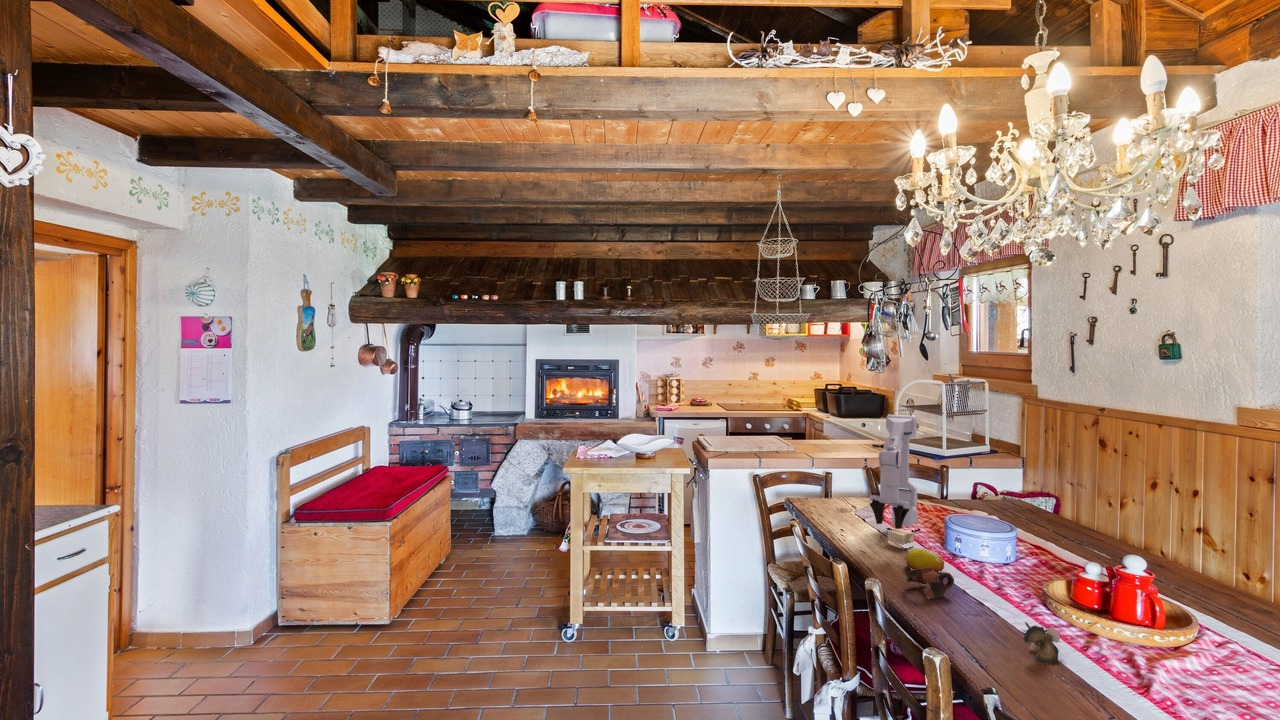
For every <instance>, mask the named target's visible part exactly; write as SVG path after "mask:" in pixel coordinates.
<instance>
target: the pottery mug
mask: <svg viewBox="0 0 1280 720" xmlns="http://www.w3.org/2000/svg"><path fill="white" fill-rule="evenodd" d="M906 576H907V577H906V582H907V583H908V584H909V583H910V582H914V583H918V584H919V583H922V584H928V585H929V587H930V589H928V590H924V591H923V594H924V595H925V598H926V597H930V598H934V599H943V598H942V597H944V598H945V593H946V592H947V591H948V590H950V589H951V588H952V587H953V585H954V583H955V578H954V577H953V575H952V573H950V572H945V571H943V572H940V573H936V572H935V571H934V570H933V567H926V568H921V569H915V570H912V571H911V570H909V571H907V572H906ZM945 578H946V579H947V583H946V584H945V583H944V579H945Z"/></svg>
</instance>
